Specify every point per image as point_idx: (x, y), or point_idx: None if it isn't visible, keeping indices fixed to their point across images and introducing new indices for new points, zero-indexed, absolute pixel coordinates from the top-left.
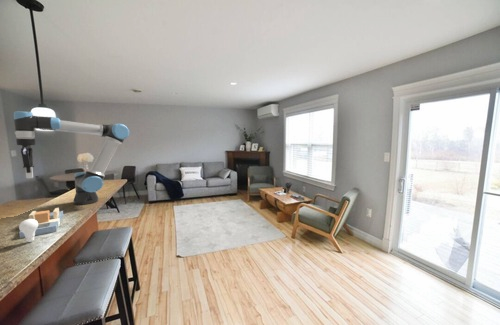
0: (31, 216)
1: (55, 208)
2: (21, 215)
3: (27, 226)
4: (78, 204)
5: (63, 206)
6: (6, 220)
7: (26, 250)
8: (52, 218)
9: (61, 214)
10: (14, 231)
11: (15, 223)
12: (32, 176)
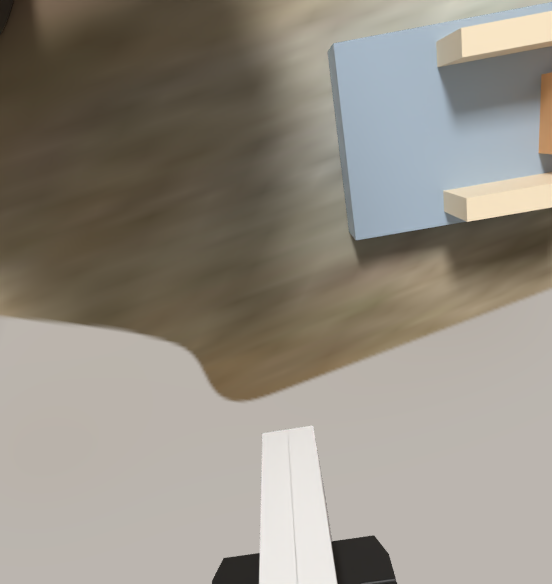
0: None
1: (476, 51)
2: (198, 347)
3: None
4: (9, 4)
5: (29, 140)
6: (281, 382)
7: None
8: (544, 57)
9: (441, 23)
10: (547, 251)
11: (375, 310)
12: (314, 447)
